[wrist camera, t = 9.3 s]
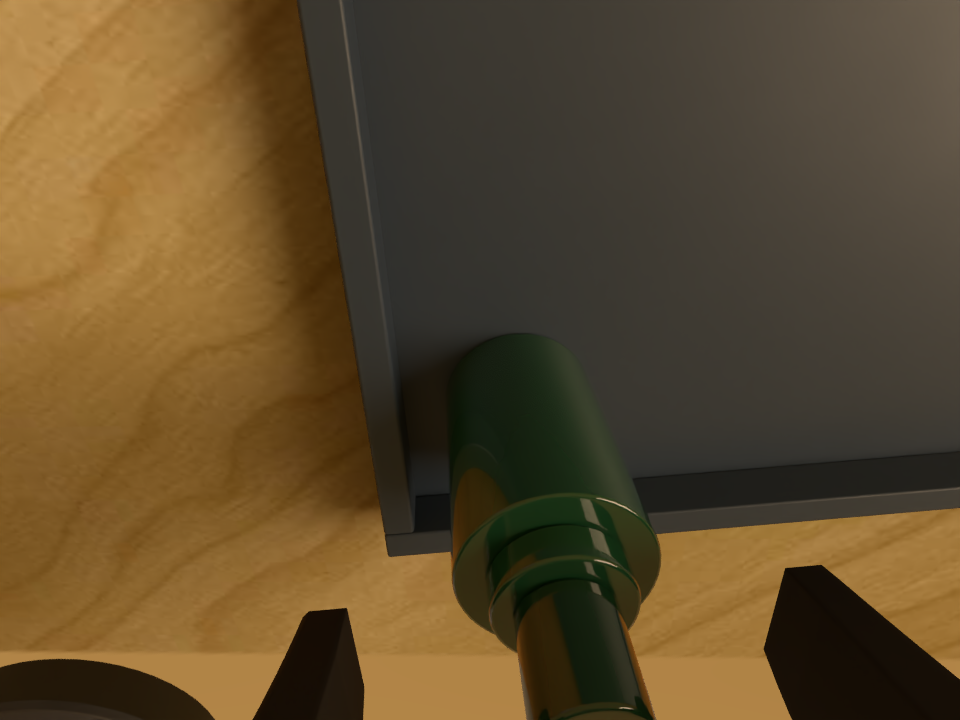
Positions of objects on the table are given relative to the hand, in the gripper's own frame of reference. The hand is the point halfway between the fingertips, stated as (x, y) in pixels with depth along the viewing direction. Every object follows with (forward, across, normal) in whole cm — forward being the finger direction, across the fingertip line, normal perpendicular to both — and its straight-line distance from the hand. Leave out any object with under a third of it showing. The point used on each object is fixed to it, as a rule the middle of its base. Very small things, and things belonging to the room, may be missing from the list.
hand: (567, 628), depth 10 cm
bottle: (+7, 0, 0) cm, 7 cm away
